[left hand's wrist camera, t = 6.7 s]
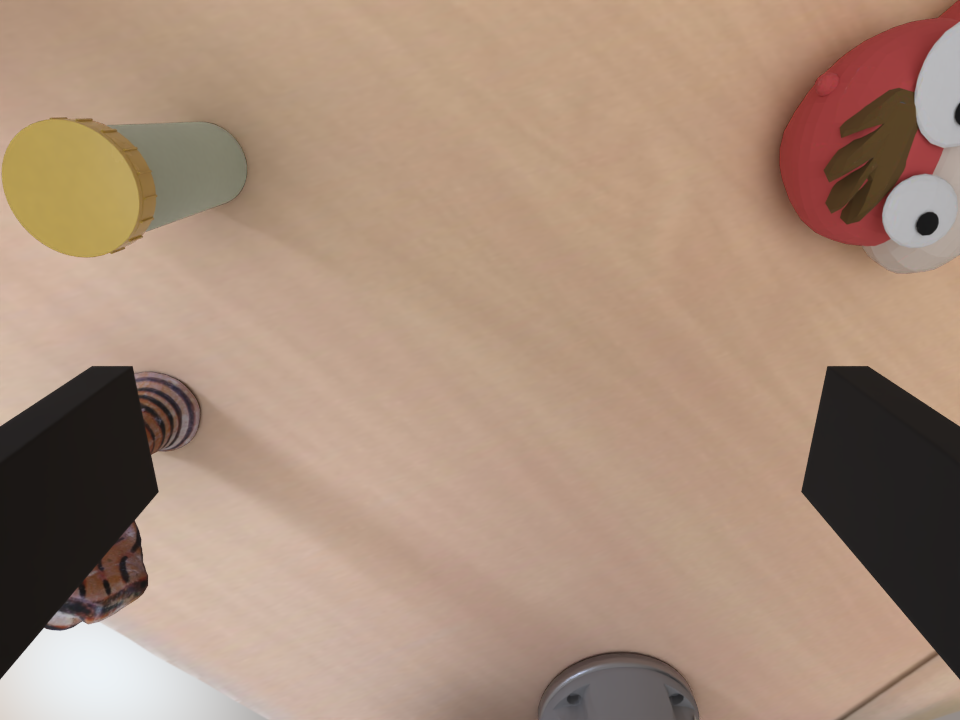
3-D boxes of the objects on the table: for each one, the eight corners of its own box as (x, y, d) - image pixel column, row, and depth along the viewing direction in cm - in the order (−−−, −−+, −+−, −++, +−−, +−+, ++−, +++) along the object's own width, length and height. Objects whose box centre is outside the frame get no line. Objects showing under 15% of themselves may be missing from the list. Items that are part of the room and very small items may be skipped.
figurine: (57, 420, 52) (-439, 783, 24) (67, 334, 49) (-475, 628, 21) (239, 473, 54) (-25, 868, 26) (258, 392, 51) (-11, 735, 23)
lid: (111, 277, 33) (92, 286, 32) (-1, 187, 32) (-27, 191, 30) (183, 186, 32) (167, 190, 30) (69, 87, 30) (46, 85, 28)
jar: (215, 221, 46) (95, 272, 32) (150, 165, 45) (-8, 190, 30) (263, 164, 45) (160, 189, 30) (197, 103, 44) (55, 99, 29)
